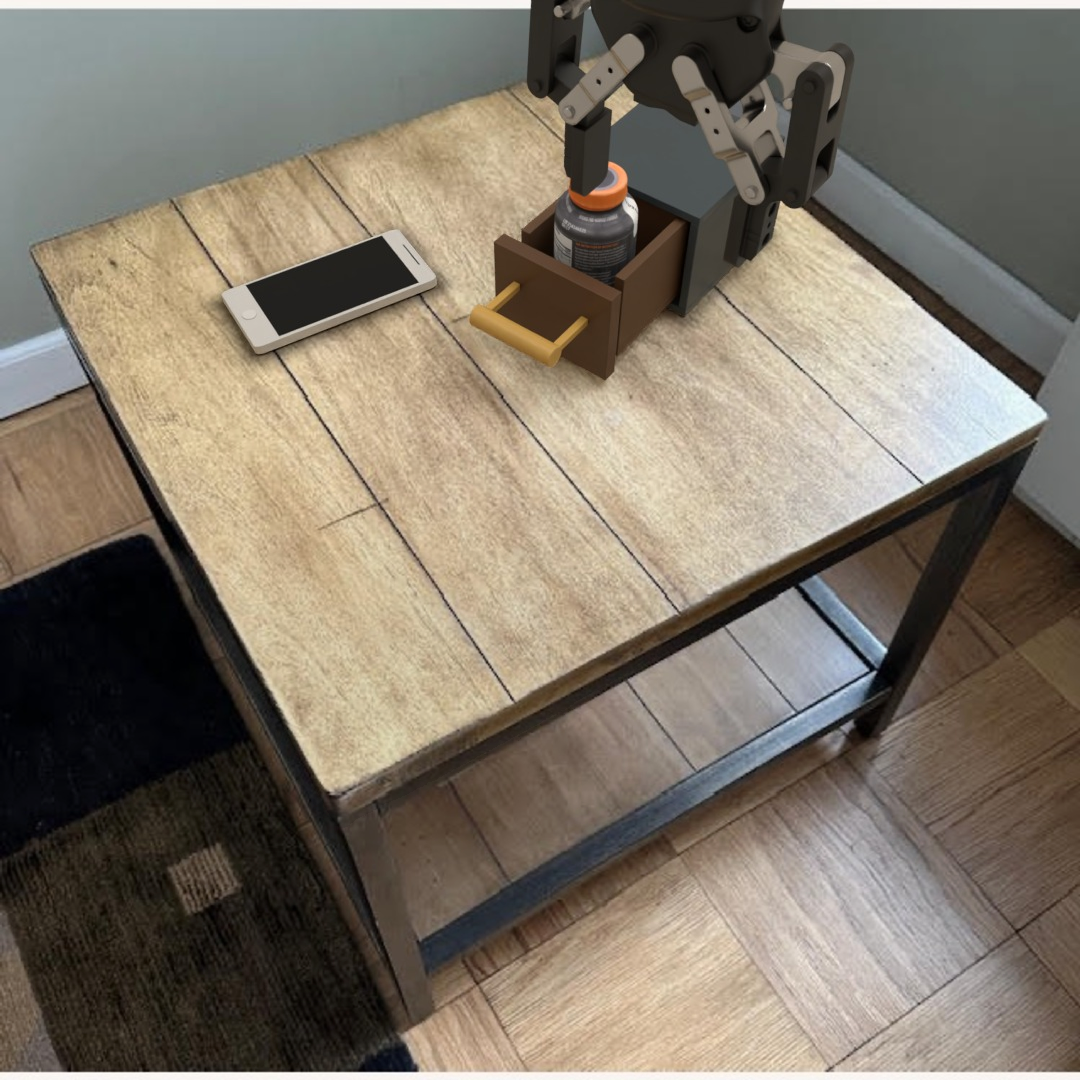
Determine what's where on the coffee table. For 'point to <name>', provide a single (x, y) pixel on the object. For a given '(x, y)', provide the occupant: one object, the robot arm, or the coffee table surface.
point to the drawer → (581, 293)
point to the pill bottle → (597, 228)
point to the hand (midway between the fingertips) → (662, 220)
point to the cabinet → (679, 189)
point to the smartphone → (328, 290)
